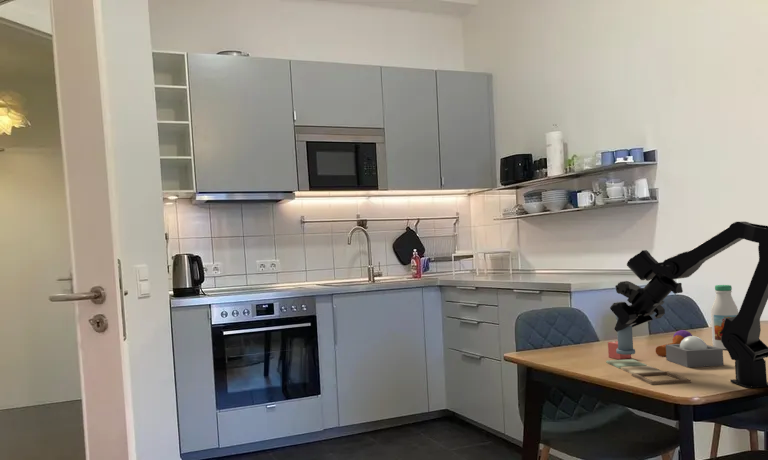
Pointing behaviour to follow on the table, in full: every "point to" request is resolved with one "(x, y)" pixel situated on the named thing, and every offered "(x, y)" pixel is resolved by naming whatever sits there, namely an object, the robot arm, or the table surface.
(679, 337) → the maraca
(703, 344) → the dome
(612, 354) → the red block
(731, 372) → the table surface
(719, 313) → the milk bottle
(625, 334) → the pawn
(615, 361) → the game track
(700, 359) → the grey open box
